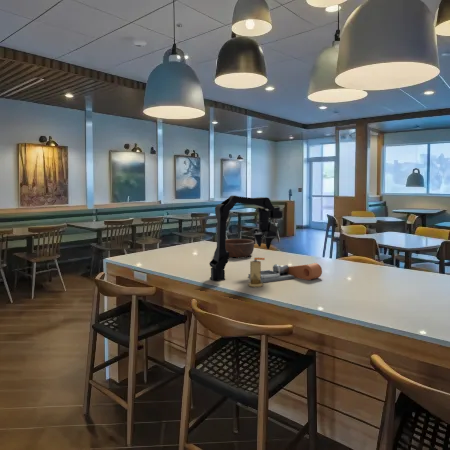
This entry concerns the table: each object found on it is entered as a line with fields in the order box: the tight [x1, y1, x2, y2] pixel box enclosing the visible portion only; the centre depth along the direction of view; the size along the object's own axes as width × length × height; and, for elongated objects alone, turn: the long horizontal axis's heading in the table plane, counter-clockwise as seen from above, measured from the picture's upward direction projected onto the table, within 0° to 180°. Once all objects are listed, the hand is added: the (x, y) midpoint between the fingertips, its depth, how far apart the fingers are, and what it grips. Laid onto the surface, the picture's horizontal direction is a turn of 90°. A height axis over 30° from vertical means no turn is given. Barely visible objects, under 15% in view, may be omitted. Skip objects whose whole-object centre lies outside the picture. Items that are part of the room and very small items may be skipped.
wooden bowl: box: [225, 238, 255, 259], centre depth 270 cm, size 25×25×10 cm
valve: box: [247, 257, 266, 288], centre depth 190 cm, size 8×7×14 cm
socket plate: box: [247, 263, 295, 284], centre depth 206 cm, size 20×14×7 cm
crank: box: [288, 262, 323, 281], centre depth 208 cm, size 20×8×8 cm, turn 39°
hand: (263, 247), depth 214 cm, fingers open, 9 cm apart
